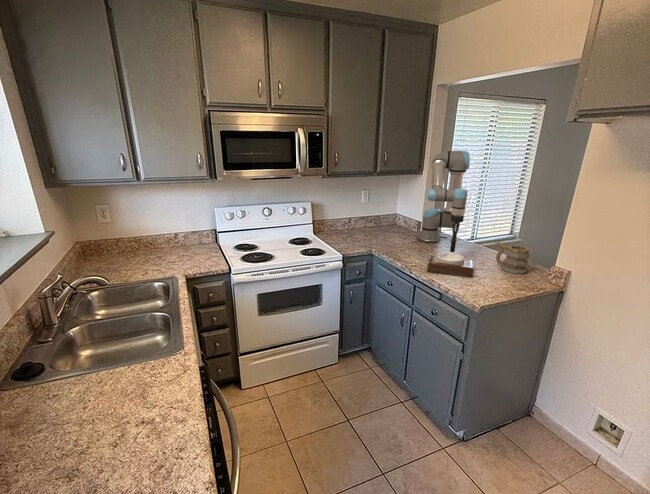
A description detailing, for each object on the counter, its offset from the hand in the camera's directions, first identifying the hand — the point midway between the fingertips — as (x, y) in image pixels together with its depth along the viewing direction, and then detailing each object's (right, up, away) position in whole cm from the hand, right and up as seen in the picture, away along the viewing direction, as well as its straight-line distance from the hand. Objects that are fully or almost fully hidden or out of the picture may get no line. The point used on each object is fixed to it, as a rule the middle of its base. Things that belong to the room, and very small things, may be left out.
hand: (452, 251), depth 225 cm
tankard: (+30, -11, -10) cm, 33 cm away
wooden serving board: (-6, -12, -12) cm, 18 cm away
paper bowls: (-6, -11, -11) cm, 17 cm away
